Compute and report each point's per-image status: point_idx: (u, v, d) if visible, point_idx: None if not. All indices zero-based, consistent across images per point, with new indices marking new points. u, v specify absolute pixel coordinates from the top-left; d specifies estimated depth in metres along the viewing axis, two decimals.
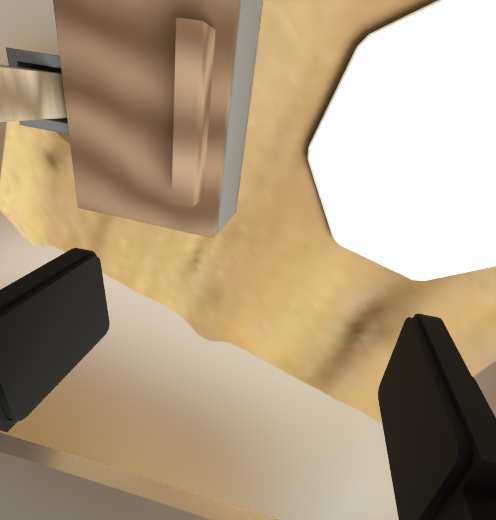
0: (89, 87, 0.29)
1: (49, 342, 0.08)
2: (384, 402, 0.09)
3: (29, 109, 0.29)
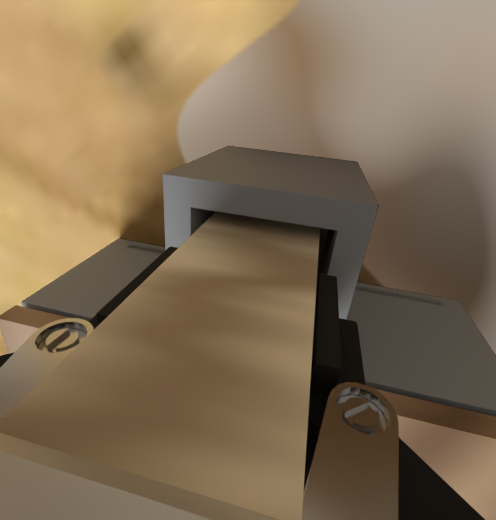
0: None
1: None
2: None
3: None
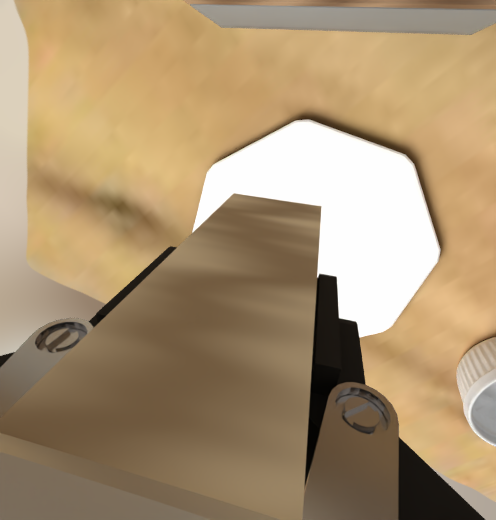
0: None
1: None
2: None
3: None
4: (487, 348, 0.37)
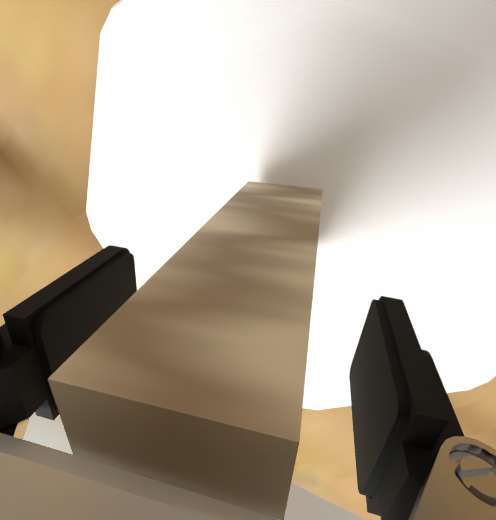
0: None
1: (91, 335, 0.09)
2: (353, 380, 0.09)
3: None
4: None
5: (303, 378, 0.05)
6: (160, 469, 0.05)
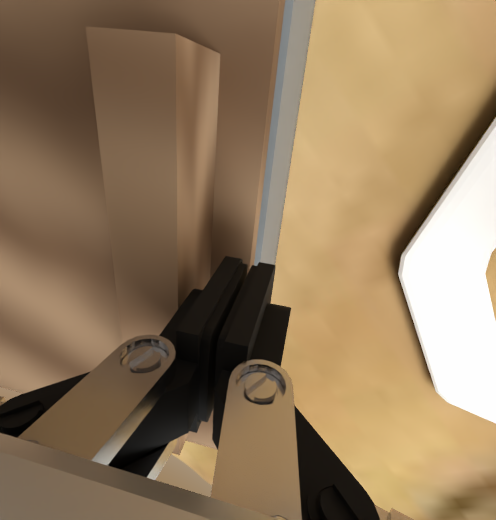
0: None
1: None
2: None
3: None
4: None
5: None
6: None
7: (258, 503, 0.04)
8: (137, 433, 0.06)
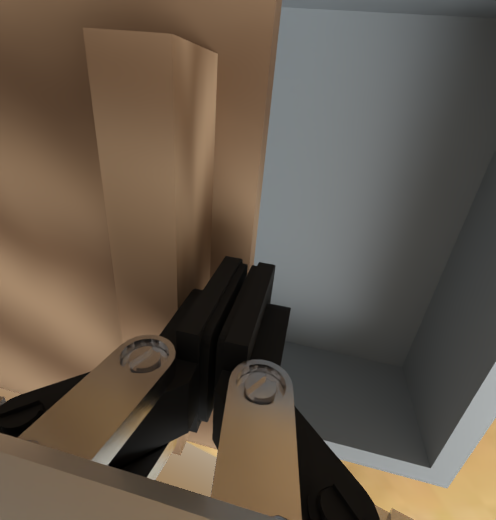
0: None
1: None
2: None
3: None
4: None
5: None
6: None
7: (258, 503, 0.04)
8: (137, 433, 0.06)
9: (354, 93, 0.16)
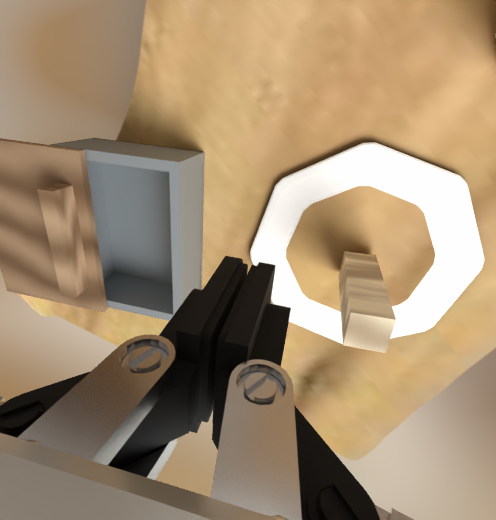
0: (0, 215, 0.41)
1: None
2: None
3: None
4: None
5: (350, 305, 0.31)
6: (364, 333, 0.30)
7: (258, 503, 0.04)
8: (137, 433, 0.06)
9: (144, 179, 0.44)
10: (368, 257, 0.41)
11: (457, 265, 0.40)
